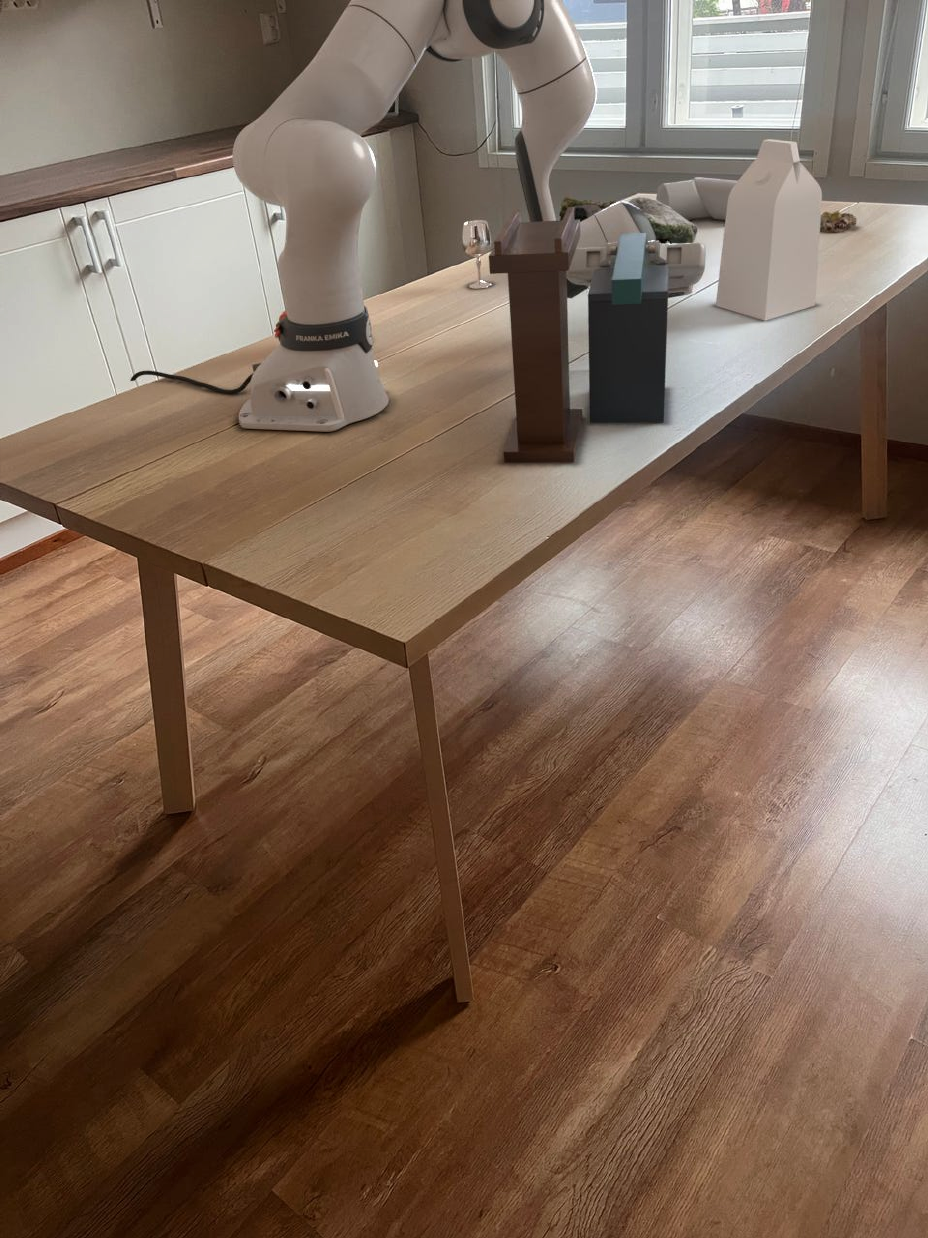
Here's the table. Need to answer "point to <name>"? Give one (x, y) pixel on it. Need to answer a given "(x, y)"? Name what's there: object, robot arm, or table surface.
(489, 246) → the wineglass
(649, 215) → the mossy grey boulder
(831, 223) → the mineral rock
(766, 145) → the milk
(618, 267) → the teal block
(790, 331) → the table surface
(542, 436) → the walnut stand
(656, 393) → the slate crate
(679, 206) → the bent grey cylinder
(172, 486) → the table surface
